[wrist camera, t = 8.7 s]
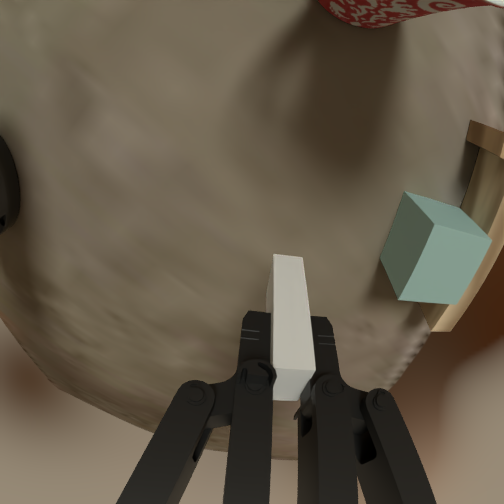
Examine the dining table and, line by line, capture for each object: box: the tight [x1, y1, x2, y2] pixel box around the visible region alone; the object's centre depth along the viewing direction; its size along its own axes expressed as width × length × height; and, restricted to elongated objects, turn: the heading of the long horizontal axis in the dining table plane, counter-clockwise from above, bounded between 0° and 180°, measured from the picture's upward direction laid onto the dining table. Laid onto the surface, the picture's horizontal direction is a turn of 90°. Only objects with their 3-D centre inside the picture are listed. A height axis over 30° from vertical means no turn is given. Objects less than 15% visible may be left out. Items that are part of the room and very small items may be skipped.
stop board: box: [419, 120, 504, 331], centre depth 19 cm, size 5×20×5 cm, turn 174°
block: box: [380, 191, 492, 305], centre depth 20 cm, size 7×7×6 cm
